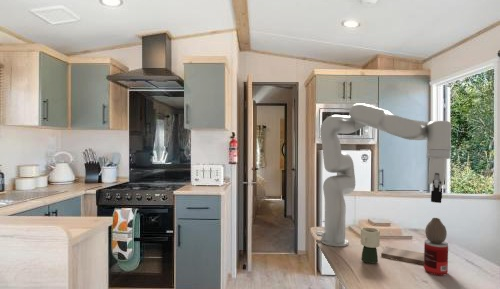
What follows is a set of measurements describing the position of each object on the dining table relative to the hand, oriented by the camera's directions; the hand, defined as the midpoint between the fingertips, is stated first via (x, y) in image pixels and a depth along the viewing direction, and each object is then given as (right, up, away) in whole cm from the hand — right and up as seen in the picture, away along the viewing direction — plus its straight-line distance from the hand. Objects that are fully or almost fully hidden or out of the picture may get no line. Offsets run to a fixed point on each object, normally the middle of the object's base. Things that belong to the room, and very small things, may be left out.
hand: (436, 200), depth 121 cm
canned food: (0, -27, 0) cm, 27 cm away
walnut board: (-5, -26, +15) cm, 31 cm away
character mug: (-22, -26, +9) cm, 35 cm away
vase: (0, -16, 0) cm, 16 cm away
